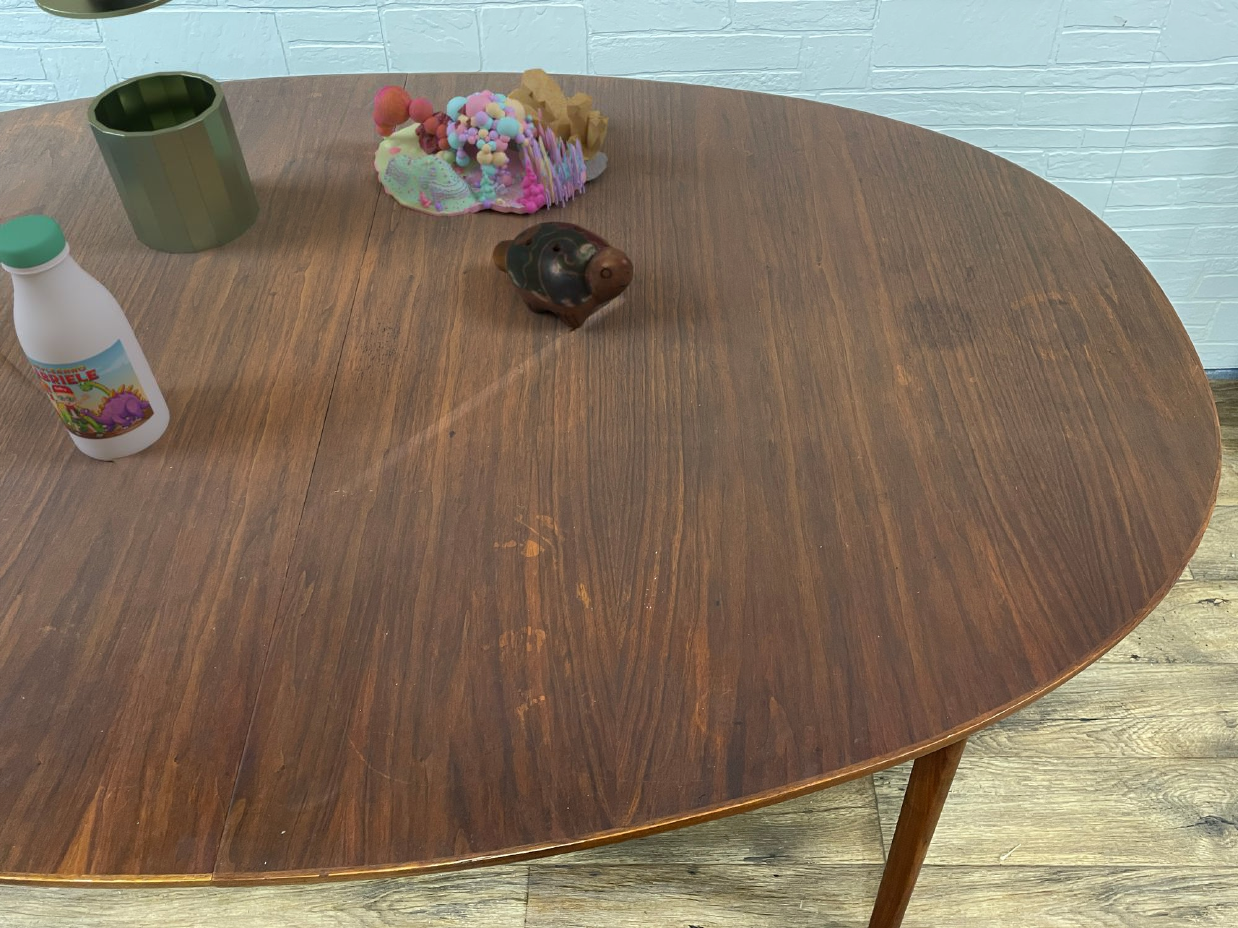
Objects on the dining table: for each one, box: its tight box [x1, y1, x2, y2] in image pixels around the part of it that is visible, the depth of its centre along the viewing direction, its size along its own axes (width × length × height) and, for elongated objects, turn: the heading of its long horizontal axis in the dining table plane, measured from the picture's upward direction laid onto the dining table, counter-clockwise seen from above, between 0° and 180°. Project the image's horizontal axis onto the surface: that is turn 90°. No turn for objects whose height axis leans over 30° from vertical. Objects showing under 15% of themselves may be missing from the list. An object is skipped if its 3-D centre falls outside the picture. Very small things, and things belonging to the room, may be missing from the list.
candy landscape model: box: [372, 68, 609, 218], centre depth 112 cm, size 25×24×9 cm
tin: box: [86, 70, 260, 254], centre depth 104 cm, size 12×12×14 cm
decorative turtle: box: [492, 221, 634, 330], centre depth 96 cm, size 10×15×8 cm, turn 63°
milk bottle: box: [0, 214, 171, 462], centre depth 81 cm, size 8×8×20 cm
